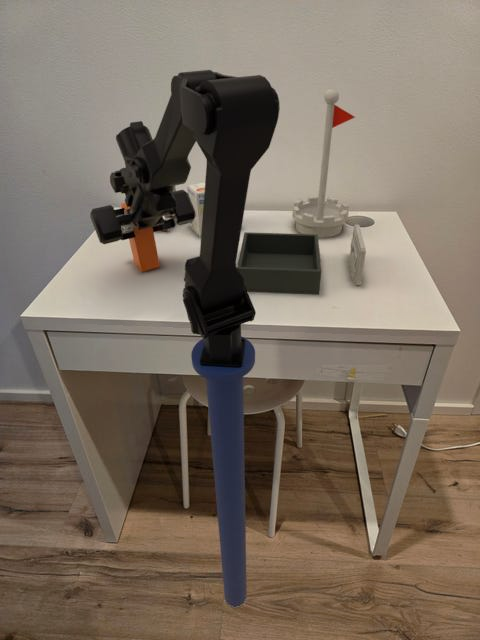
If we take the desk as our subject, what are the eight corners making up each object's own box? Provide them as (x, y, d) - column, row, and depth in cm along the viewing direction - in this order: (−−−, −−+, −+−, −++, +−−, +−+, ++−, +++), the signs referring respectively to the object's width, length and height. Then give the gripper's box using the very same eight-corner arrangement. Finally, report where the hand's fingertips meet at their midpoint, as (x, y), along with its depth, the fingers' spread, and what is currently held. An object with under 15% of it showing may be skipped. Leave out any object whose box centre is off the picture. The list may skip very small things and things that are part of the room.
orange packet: (160, 266, 91) (148, 207, 83) (141, 272, 89) (128, 212, 81) (151, 256, 94) (140, 199, 86) (134, 262, 93) (120, 204, 85)
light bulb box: (229, 219, 110) (227, 176, 104) (241, 229, 105) (240, 185, 99) (189, 227, 106) (185, 184, 100) (200, 238, 102) (196, 193, 95)
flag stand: (287, 236, 101) (295, 93, 84) (295, 215, 112) (303, 83, 94) (344, 242, 99) (365, 95, 81) (347, 219, 109) (366, 84, 91)
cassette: (347, 256, 93) (351, 222, 89) (355, 256, 93) (361, 223, 89) (352, 286, 84) (358, 250, 79) (362, 286, 84) (369, 250, 79)
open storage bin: (318, 294, 82) (321, 271, 79) (237, 291, 83) (236, 268, 80) (315, 255, 94) (317, 234, 91) (244, 253, 95) (244, 232, 92)
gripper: (183, 147, 79) (166, 188, 93) (80, 164, 71) (78, 207, 86) (206, 202, 78) (185, 236, 92) (104, 226, 71) (98, 258, 85)
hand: (138, 233), depth 89 cm, fingers closed on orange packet, 4 cm apart
